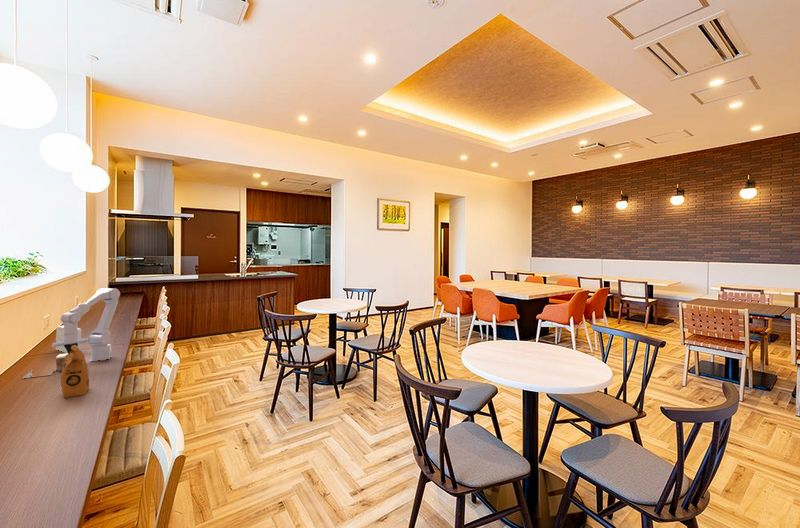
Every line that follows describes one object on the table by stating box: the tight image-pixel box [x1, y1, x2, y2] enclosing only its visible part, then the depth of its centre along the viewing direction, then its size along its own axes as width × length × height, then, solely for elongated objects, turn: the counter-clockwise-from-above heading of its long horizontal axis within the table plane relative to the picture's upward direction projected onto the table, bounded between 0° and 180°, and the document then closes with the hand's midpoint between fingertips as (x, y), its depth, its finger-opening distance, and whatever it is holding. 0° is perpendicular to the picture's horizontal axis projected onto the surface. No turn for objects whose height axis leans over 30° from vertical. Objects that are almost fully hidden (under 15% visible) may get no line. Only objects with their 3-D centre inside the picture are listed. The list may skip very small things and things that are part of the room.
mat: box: [21, 368, 57, 380], centre depth 188 cm, size 11×20×1 cm, turn 32°
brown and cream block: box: [55, 353, 69, 372], centre depth 192 cm, size 4×6×8 cm, turn 32°
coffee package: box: [60, 345, 90, 399], centre depth 162 cm, size 10×12×22 cm
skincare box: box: [55, 324, 82, 354], centre depth 223 cm, size 21×6×16 cm, turn 65°
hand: (70, 357), depth 193 cm, fingers closed
